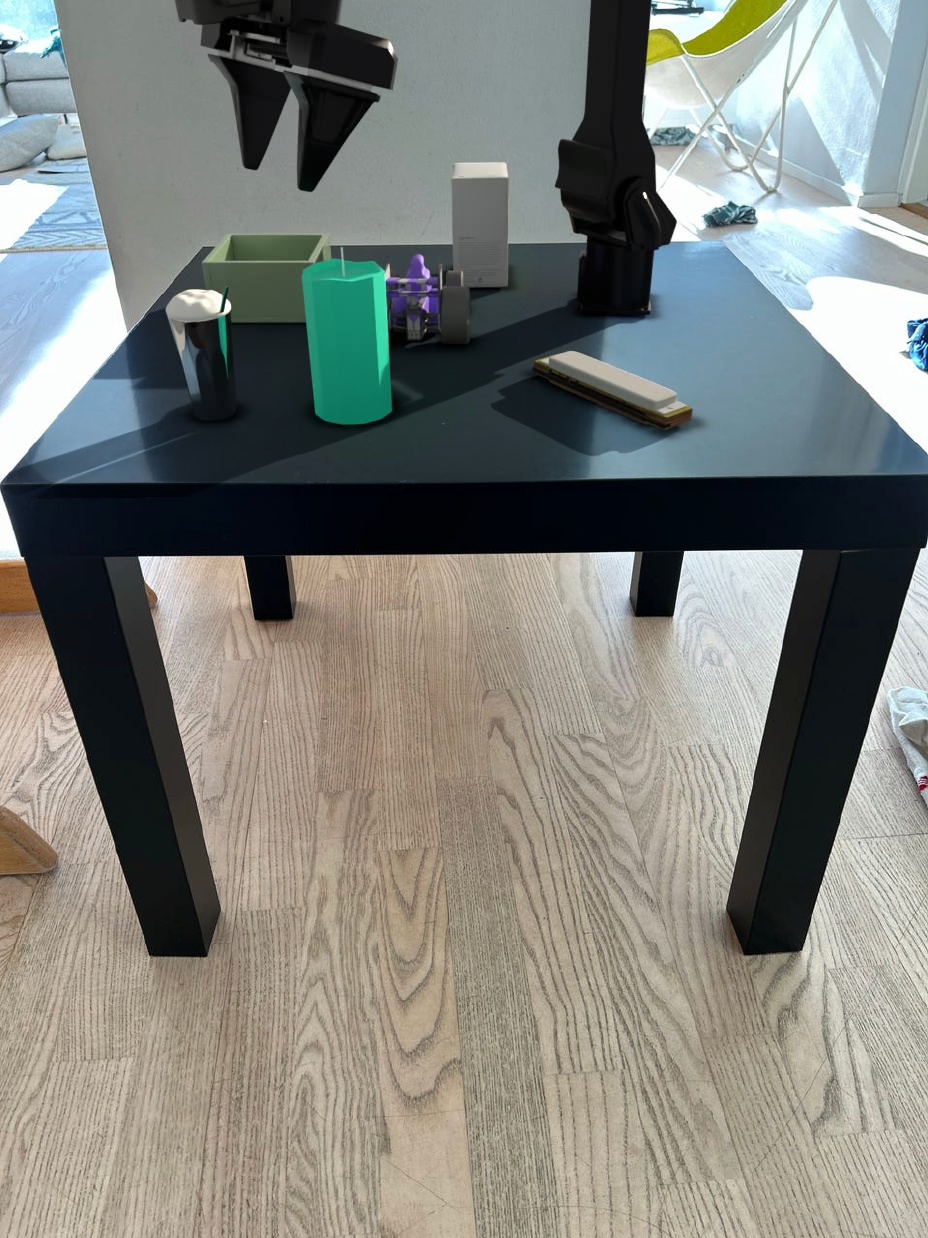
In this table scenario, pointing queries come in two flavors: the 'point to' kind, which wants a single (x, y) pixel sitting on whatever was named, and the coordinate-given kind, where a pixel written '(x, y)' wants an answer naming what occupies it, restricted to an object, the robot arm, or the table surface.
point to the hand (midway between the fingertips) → (276, 179)
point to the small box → (480, 223)
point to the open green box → (264, 274)
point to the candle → (348, 340)
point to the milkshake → (205, 350)
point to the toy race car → (428, 303)
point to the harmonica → (614, 389)
